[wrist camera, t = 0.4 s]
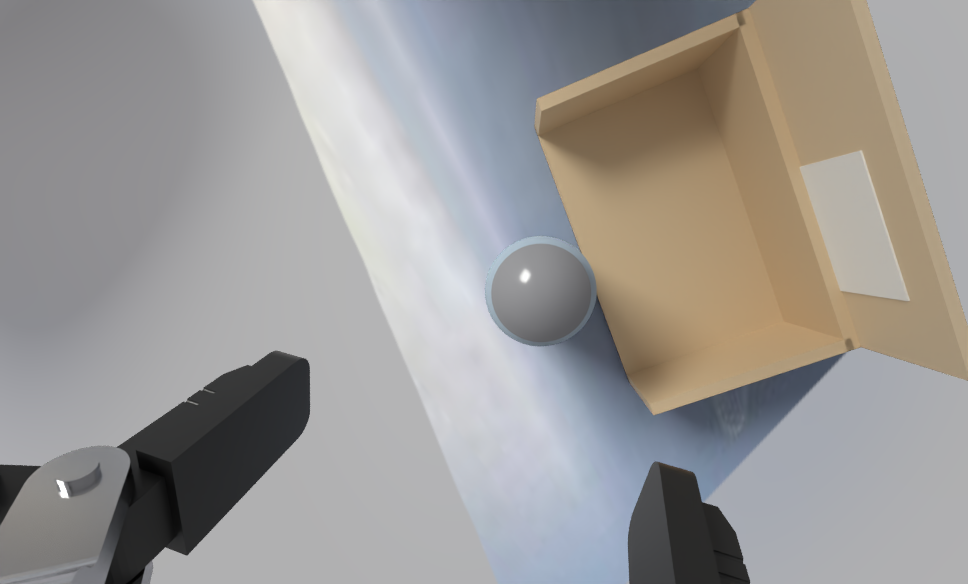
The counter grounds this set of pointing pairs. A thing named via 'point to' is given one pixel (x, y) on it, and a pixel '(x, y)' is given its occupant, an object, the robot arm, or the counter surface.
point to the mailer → (753, 204)
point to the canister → (540, 291)
